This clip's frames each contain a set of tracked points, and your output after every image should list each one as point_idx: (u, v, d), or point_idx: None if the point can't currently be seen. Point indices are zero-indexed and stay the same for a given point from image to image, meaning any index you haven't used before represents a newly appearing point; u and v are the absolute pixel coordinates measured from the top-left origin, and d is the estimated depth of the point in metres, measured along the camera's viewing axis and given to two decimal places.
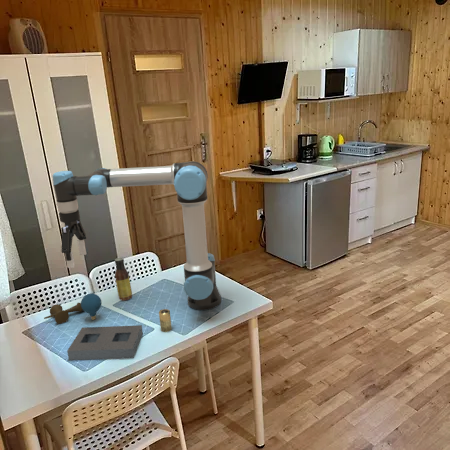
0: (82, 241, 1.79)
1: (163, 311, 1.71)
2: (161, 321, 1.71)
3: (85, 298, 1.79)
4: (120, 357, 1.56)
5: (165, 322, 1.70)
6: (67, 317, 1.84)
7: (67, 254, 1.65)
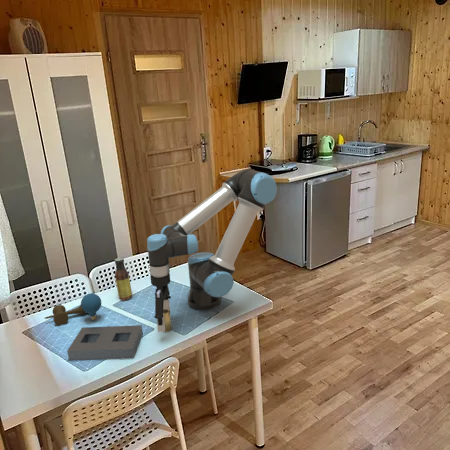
0: (167, 301, 1.77)
1: (163, 311, 1.71)
2: None
3: (85, 298, 1.79)
4: (120, 357, 1.56)
5: (165, 322, 1.70)
6: (66, 319, 1.82)
7: (159, 319, 1.63)
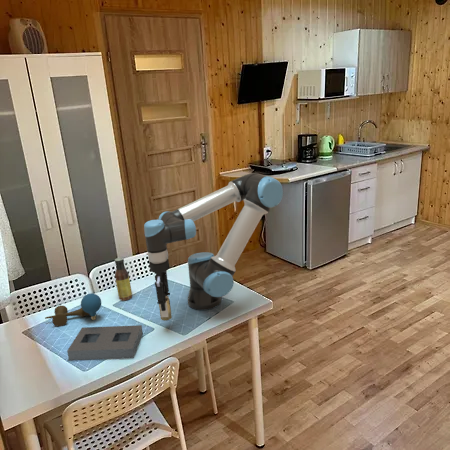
0: (167, 297, 1.72)
1: None
2: None
3: (85, 298, 1.79)
4: (120, 357, 1.56)
5: None
6: (65, 321, 1.81)
7: (162, 305, 1.66)
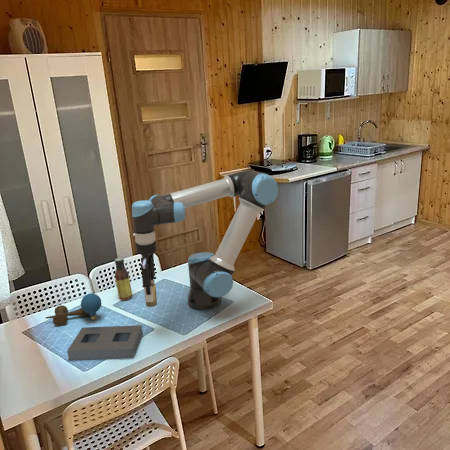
0: (152, 281, 1.68)
1: None
2: None
3: (85, 298, 1.79)
4: (120, 357, 1.56)
5: None
6: (65, 320, 1.81)
7: (147, 288, 1.62)
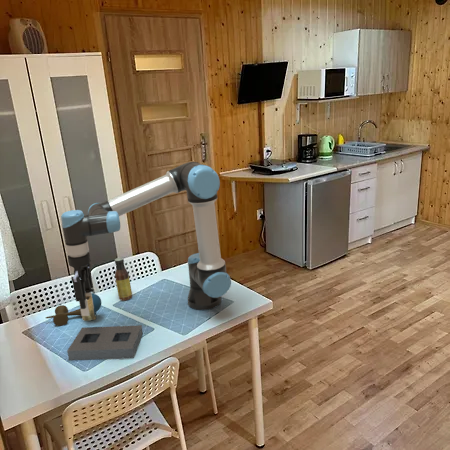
0: (89, 294, 1.60)
1: None
2: None
3: None
4: (120, 357, 1.56)
5: None
6: (66, 320, 1.81)
7: (82, 302, 1.54)
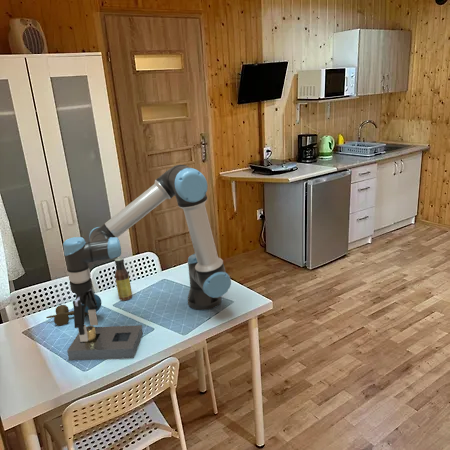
0: (93, 311, 1.66)
1: (87, 328, 1.62)
2: None
3: None
4: (120, 357, 1.56)
5: (88, 340, 1.61)
6: (67, 320, 1.81)
7: (80, 328, 1.54)
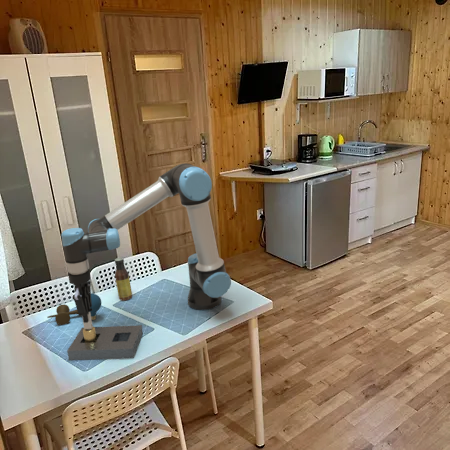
0: None
1: None
2: (85, 339, 1.61)
3: None
4: (120, 357, 1.56)
5: (88, 340, 1.61)
6: (68, 319, 1.82)
7: (84, 316, 1.58)
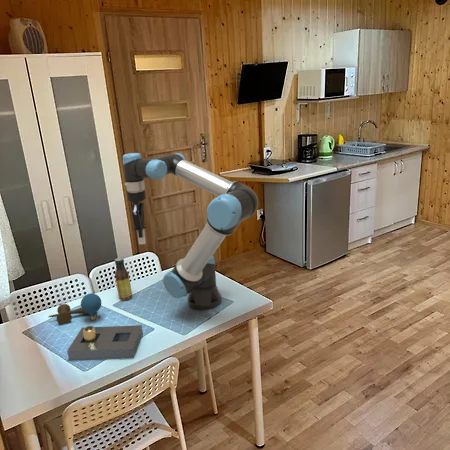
0: None
1: (87, 328, 1.62)
2: (85, 339, 1.61)
3: (85, 298, 1.79)
4: (120, 357, 1.56)
5: (88, 340, 1.61)
6: (69, 319, 1.82)
7: (140, 231, 1.83)
